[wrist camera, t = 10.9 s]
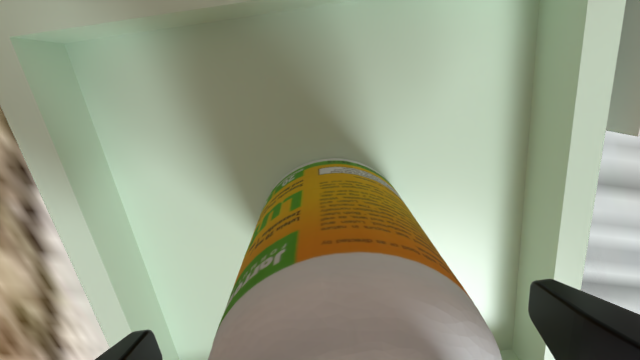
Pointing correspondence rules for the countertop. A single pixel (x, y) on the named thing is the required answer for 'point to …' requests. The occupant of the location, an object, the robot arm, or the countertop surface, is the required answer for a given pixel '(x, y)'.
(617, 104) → the bay
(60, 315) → the countertop surface
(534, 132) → the tray
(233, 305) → the supplement bottle
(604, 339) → the robot arm
